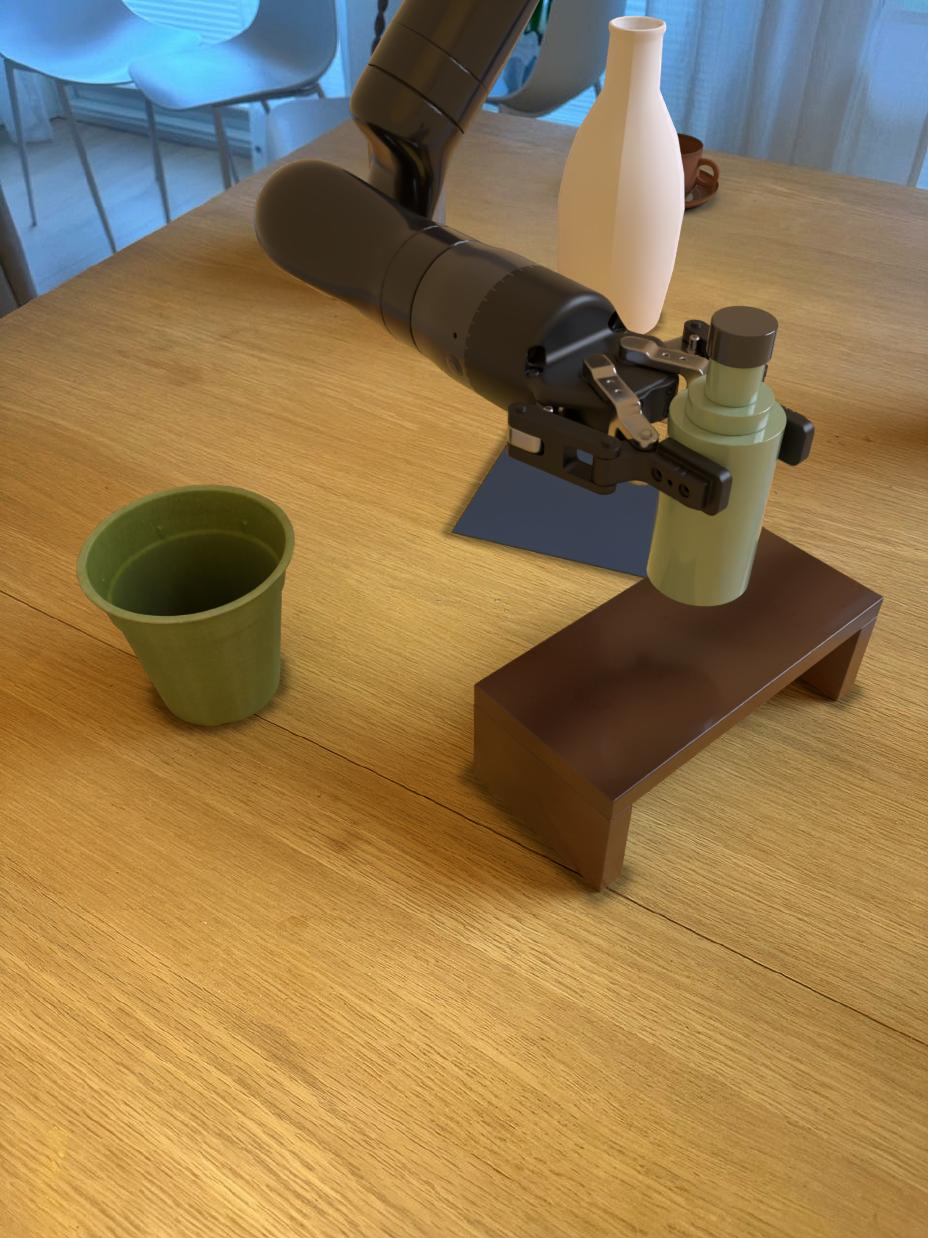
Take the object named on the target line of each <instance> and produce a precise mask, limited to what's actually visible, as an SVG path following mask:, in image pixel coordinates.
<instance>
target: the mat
mask: <svg viewBox="0 0 928 1238" xmlns="http://www.w3.org/2000/svg"><path fill="white" fill-rule="evenodd" d="M577 456H578V458H579V459H580V460H581V461H583V462H585V463H588V464H590V465H592V462H593V455H591V454H589V453H586V452H584V451H581V450H579V449H577ZM657 490H658V489H656V488H654V487H653V486H651V485H647V486H637V485H634V484H632V483H630V482H629V481H627V482H623V483H619V484H617V488H616V491H615V492H614V493H612V494H609V495H600V494H597V493H594V492H592V491H589V490H587V489H585V488H582V487H580V486H578V485H575V484H573V483H570V482H568V481H566V480H563V479H561V478H559V477H556V476H554V475H552V474H549V473H547V472H544V471H542V470H540V469H537V468H535V467H533V466H530V465H528V464H525V463H523V462H521V461H518V460H516V459H514V458H511V457H510V456H508V454H507V444H506V445H505V446H504V448H503V450H502V451H501V453H500V455H499V456H498V458H497V459H496V461H495V463H494V464H493V466H492V467H491V469H490V471H488V474H487V476H486V477H485V478H484V480H483V481H482V483H481V485H479V488H478V489H477V491H476V492H475V494H474V496H473V497H472V498H471V501H470V502H469V504H468V505H467V507H466V509H465V510H464V512H463V513H462V515H461V517H460V518H459V520H458V521H457V523H456V525H454V528H453V529H452V531H451V533H452V534H455V535H459V536H463V537H468V538H473V539H477V540H481V541H484V542H485V541H486V542H490V543H495V544H498V545H503V546H507V547H511V548H515V549H519V550H524V551H527V552H533V553H536V554H541V555H545V556H550V557H554V558H559V559H562V560H567V561H571V562H576V563H580V564H583V565H589V566H592V567H597V568H601V569H605V570H610V571H613V572H617V573H622V574H626V575H631V576H634V577H640V578H642V579H643V578H645V577H647V576H648V574H647V560H648V553H649V546H650V539H651V532H652V525H653V518H654V511H655V504H656V497H657Z"/></svg>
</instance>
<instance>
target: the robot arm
mask: <svg viewBox="0 0 928 1238" xmlns="http://www.w3.org/2000/svg"><path fill="white" fill-rule="evenodd" d="M539 3H540V0H402V2H401V3H400V5H399V6H398V8H397V10H396V12H395V14H394V15H393V17H392V18H391V20H390V23H389V24H388V26H387V27H386V29H385V31H384V33H383V35H382V36H381V38H380V40H379V42H378V43H377V45H376V47H375V49H374V51H373V53H372V55H371V56H370V58H369V59H368V62H367V65H365V67H364V69H363V71H362V72H361V74H360V76H359V77H358V80H357V82H356V84H355V85H354V88H353V90H352V92H351V94H350V98H349V102H348V112H349V115H350V118H351V120H352V121H353V123H354V125H355V126H356V128H357V130H359V133H361V135H362V136H363V137H364V139H365V140H366V142H367V145H368V144H369V145H370V148H371V151H372V160H371V166H370V171H369V170H368V176H367V180H364V179H363V178H361V177H359V176H358V175H356V174H354V173H353V172H351V171H350V170H347V169H346V168H344V167H342V166H340V165H338V164H336V163H334V162H332V161H330V160H325V159H323V158H301V159H296V160H293V161H290V162H288V163H285V164H284V165H281V166H280V167H279V168H277V169H276V170H275V171H274V172H273V173H271V174H270V175H269V177H268V178H267V179H266V180H265V181H264V183H263V185H262V186H261V188H260V190H259V192H258V194H257V197H256V200H255V203H254V211H253V227H254V232H255V237H256V240H257V243H258V245H259V247H260V250H261V251H262V253H263V255H264V256H265V257H266V259H267V260H268V261H269V262H270V263H271V264H272V266H274V267H275V268H276V269H278V270H279V271H280V272H282V273H284V274H285V275H287V276H289V277H290V278H292V279H293V280H295V281H298V282H299V283H301V284H303V286H307V287H308V288H310V289H312V290H313V291H315V292H317V293H318V294H320V295H322V296H324V297H325V298H327V299H329V300H330V301H332V302H334V303H336V304H337V305H339V306H341V307H343V308H345V309H347V310H350V311H354V312H358V313H360V314H362V315H363V316H364V317H366V318H367V319H369V321H371V322H372V323H373V324H375V325H376V326H377V327H379V328H380V329H381V330H382V331H383V332H385V333H386V334H388V335H389V336H391V337H392V338H393V339H395V340H396V341H398V342H399V343H401V344H403V345H404V346H406V347H408V348H409V349H411V350H413V351H414V352H416V353H418V354H419V355H421V356H423V357H424V358H426V359H428V360H429V361H430V362H432V364H434V365H435V366H436V367H437V368H439V369H440V371H442V373H444V374H445V375H446V376H448V377H449V378H450V379H452V380H453V381H455V382H457V383H459V384H460V385H462V386H463V387H465V388H467V389H468V390H470V391H472V392H473V393H475V394H476V395H478V396H480V397H481V398H483V399H484V400H487V401H488V402H489V403H491V404H493V405H495V406H496V407H498V408H500V409H501V410H502V411H504V412H506V413H507V422H506V423H507V424H506V425H507V427H506V445H507V454H508V456H510V457H511V458H514V459H516V460H518V461H521V462H523V463H525V464H528V465H530V466H533V467H535V468H537V469H540V470H542V471H544V472H547V473H549V474H552V475H554V476H556V477H559V478H561V479H563V480H566V481H568V482H570V483H573V484H575V485H578V486H580V487H582V488H585V489H587V490H589V491H592V492H594V493H597V494H600V495H609V494H612V493H614V492H615V491H616V488H617V484H619V483H623V482H627V481H629V482H630V483H632V484H634V485H637V486H647V485H651V486H653V487H654V488H656V489H658V490H659V491H661V492H663V493H664V494H666V495H668V496H669V497H672V498H673V499H674V500H676V501H678V502H679V503H681V504H683V505H684V506H686V507H688V508H691V509H695V510H698V511H702V512H704V513H705V514H707V515H709V516H714V515H716V514H718V513H719V512H721V511H723V510H724V509H726V508H727V506H728V501H729V496H730V491H731V486H732V475H731V473H730V472H729V471H728V470H727V469H726V468H725V467H723V466H721V465H719V464H717V463H716V462H714V461H712V460H710V459H708V458H707V457H705V456H703V455H701V454H699V453H698V452H696V451H694V450H692V449H690V448H688V447H686V446H685V445H683V444H681V443H680V442H678V441H676V440H674V439H672V438H671V437H668V438H666V439H665V438H663V439H662V440H660V433H659V431H658V430H657V429H656V428H655V426H654V425H653V424H656V423H660V424H665V425H667V420H668V413H669V407H670V403H671V402H672V400H673V398H674V397H675V396H676V395H677V394H679V386H680V376H682V377H683V379H684V380H685V382H686V386H685V389H688V388H689V386H690V384H691V383H692V382H693V381H694V380H695V379H696V378H698V377H700V376H703V375H706V374H707V368H708V362H709V356H708V354H707V351H706V346H707V340H708V334H709V328H710V324H709V323H707V322H706V321H704V320H701V319H688V320H685V322H684V323H683V330H682V335H681V336H678V337H674V338H670V339H668V340H664V341H663V340H661V338H659V337H657V336H655V335H651V334H647V333H645V334H640V333H636V332H633V331H629V330H628V329H627V328H626V326H625V325H624V323H623V322H622V320H621V319H620V317H619V315H618V313H617V311H616V309H615V307H614V306H613V304H612V303H611V302H610V301H609V300H608V299H607V298H606V297H605V296H604V295H602V294H600V293H599V292H596V291H594V290H592V289H590V288H588V287H586V286H584V285H582V284H580V283H578V282H575V281H573V280H571V279H569V278H567V277H565V276H563V275H561V274H559V273H558V271H554V270H552V269H550V268H548V267H546V266H544V265H541V264H540V263H538V262H535V261H533V260H531V259H529V258H528V257H525V256H523V255H521V254H519V253H516V252H514V251H512V250H509V249H505V248H501V247H498V246H492V245H490V244H487V243H484V242H482V241H480V240H478V239H476V238H474V237H472V236H470V235H468V234H466V233H463V232H462V231H459V230H457V229H455V228H454V227H451V226H448V225H447V224H446V225H444V224H441V223H438V222H435V221H433V218H434V214H435V211H436V208H437V205H438V202H439V199H440V196H441V193H442V190H443V186H444V182H445V183H446V179H447V175H448V170H449V167H450V165H451V161H452V158H453V155H455V151H456V150H457V148H458V147H459V145H460V144H461V142H462V140H464V137H465V136H464V135H467V133H468V131H469V129H470V128H471V126H472V124H473V122H474V121H475V119H476V117H477V116H478V114H479V112H481V111H480V110H481V109H482V107H483V106H484V104H485V102H486V101H487V99H488V98H489V95H490V94H491V92H492V91H493V89H494V87H495V86H496V83H497V82H498V80H499V78H500V77H501V75H502V74H503V71H505V70H504V69H505V68H506V66H507V64H508V63H509V60H510V59H511V57H512V56H513V53H514V51H515V50H516V47H517V46H518V43H520V40H521V38H522V36H523V34H524V33H525V30H526V28H527V27H528V24H529V23H530V20H531V18H532V16H533V14H534V13H535V10H536V8H537V6H538V4H539ZM768 368H769V366H768V363H766V364H765V369H764V374H763V379H762V382H764V383H765V379H766V377H767V373H768ZM779 404H780V406H781V407H782V408H783V410H784V412H785V414H786V420H787V421H786V426H785V431H784V435H783V439H782V443H781V448H780V452H779V456H778V461H780V462H783V463H784V464H786V465H788V466H791V467H796V466H798V465H799V464H802V463H803V462H804V461H806V460H807V459H808V458H809V457H810V453H811V448H812V444H813V440H814V436H815V433H816V429H815V428H816V427H815V426H814V423H812V421H811V420H810V419H808V418H807V417H806V416H805V415H803V414H801V413H799V412H797V411H794V410H793V409H791V408H789V407H787V406H785V405H783V404H781V403H779ZM577 449H579V450H581V451H584V452H586V453H589V454H591V455H593V462H592V465H590V464H588V463H585V462H583V461H581V460H580V459H579V458H578V456H577Z"/></svg>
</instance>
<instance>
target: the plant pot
mask: <svg viewBox="0 0 928 1238" xmlns="http://www.w3.org/2000/svg"><path fill="white" fill-rule="evenodd" d="M295 537H296V535H295V530H294V527H293V523H292V522H291V520H290V518H289V517H288V515H287V514H286V512H285V511H284V509H282V508H281V506H279V505H278V504H277V503H275V502H274V501H273V500H271V499H269V498H267V497H266V496H264V495H262V494H260V493H257V492H254V491H253V490H248V489H246V488H242V487H237V486H232V485H225V484H192V485H191V484H190V485H183V486H178V487H172V488H168V489H164V490H159V491H156V492H153V493H151V494H147V495H145V496H142V497H140V498H137V499H135V500H133V501H131V502H130V503H127V504H126V505H123V506H121V507H120V508H118V509H117V510H116V511H114V512H112V513H111V514H110V515H108V516H107V517H104V519H103V520H101V521H100V522H99V523H98V524H97V525H96V527H95V528H94V529H93V531H92V532H90V533H89V534H88V536H87V537H86V538H85V540H84V542H83V544H82V545H81V548H80V549H79V552H78V554H77V555H78V556H77V559H76V567H75V574H76V578H77V582H78V584H79V587H80V590H81V591H82V593H83V594H84V596H85V597H86V599H88V600H89V602H90V603H92V604H93V605H94V606H95V607H97V608H98V609H99V610H101V611H103V612H104V613H106V615H107V617H108V619H109V620H110V621H111V623H112V624H113V625H114V626H115V627H116V628H117V629H118V630H120V632H121V633H122V634H123V637H124V638H125V640H126V641H127V643H128V645H129V647H130V648H131V649H132V652H133V653H134V655H135V657H136V658H137V659H138V661H139V663H140V665H141V666H142V668H143V670H144V671H145V673H146V675H147V677H148V678H149V680H150V682H151V683H152V685H153V686H154V688H155V690H156V692H157V693H158V695H159V696H160V698H161V700H162V701H163V703H164V704H165V706H166V708H167V709H168V710H169V711H170V712H171V713H172V714H173V716H175V717H177V718H178V719H180V720H182V721H184V722H187V723H189V724H193V725H198V726H204V727H206V726H207V727H216V726H217V727H218V726H221V725H225V724H230V723H237V722H240V721H243V720H245V719H248V718H249V717H251V716H253V715H254V714H256V713H258V712H259V711H261V710H262V709H263V708H264V707H266V706H267V704H268V703H270V701H271V700H272V699H273V697H274V696H275V694H276V693H277V690H278V688H279V685H280V681H281V680H280V679H281V659H282V657H281V655H282V654H281V651H282V650H281V649H282V648H281V647H282V611H283V610H282V609H283V607H282V605H283V603H282V602H283V590H284V586H285V582H286V573H287V568H288V567H289V565H290V563H291V561H292V558H293V556H294V555H293V554H294V552H295V551H294V550H295V545H296V538H295Z"/></svg>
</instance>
